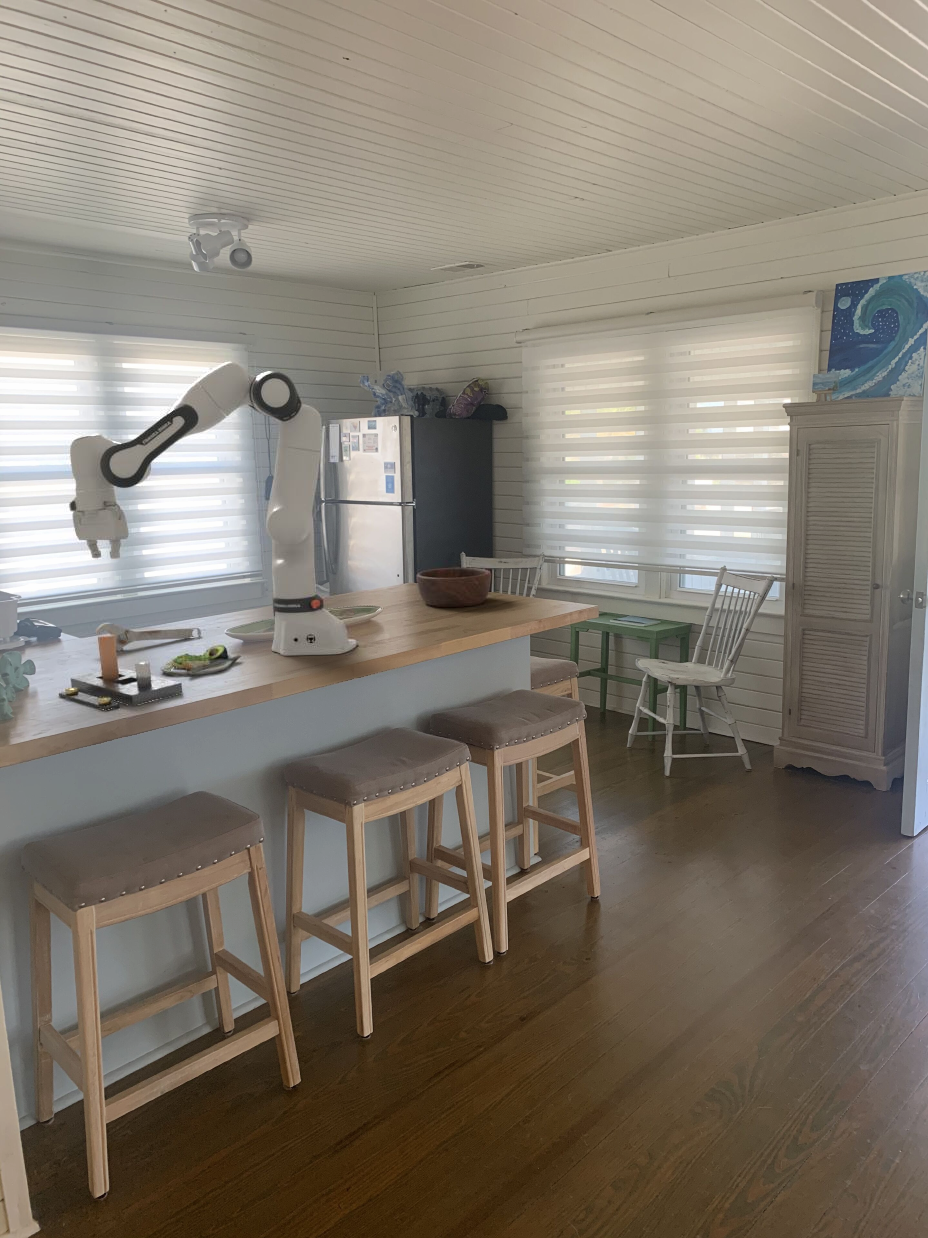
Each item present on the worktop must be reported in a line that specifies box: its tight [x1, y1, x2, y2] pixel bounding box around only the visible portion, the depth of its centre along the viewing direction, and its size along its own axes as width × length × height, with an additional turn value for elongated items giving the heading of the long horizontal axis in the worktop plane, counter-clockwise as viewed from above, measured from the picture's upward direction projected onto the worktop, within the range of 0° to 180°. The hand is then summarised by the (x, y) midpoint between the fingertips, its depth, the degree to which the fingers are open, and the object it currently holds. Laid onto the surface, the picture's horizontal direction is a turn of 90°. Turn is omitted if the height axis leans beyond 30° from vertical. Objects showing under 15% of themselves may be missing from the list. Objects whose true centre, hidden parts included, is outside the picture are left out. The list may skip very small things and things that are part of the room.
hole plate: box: [58, 661, 183, 711], centre depth 200 cm, size 26×17×8 cm, turn 51°
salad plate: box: [160, 644, 242, 676], centre depth 221 cm, size 19×18×5 cm
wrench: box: [94, 622, 202, 652], centre depth 250 cm, size 8×2×30 cm
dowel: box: [97, 634, 119, 681], centre depth 205 cm, size 4×4×12 cm
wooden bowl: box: [416, 567, 492, 608], centre depth 301 cm, size 25×25×10 cm
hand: (106, 558), depth 223 cm, fingers open, 8 cm apart
